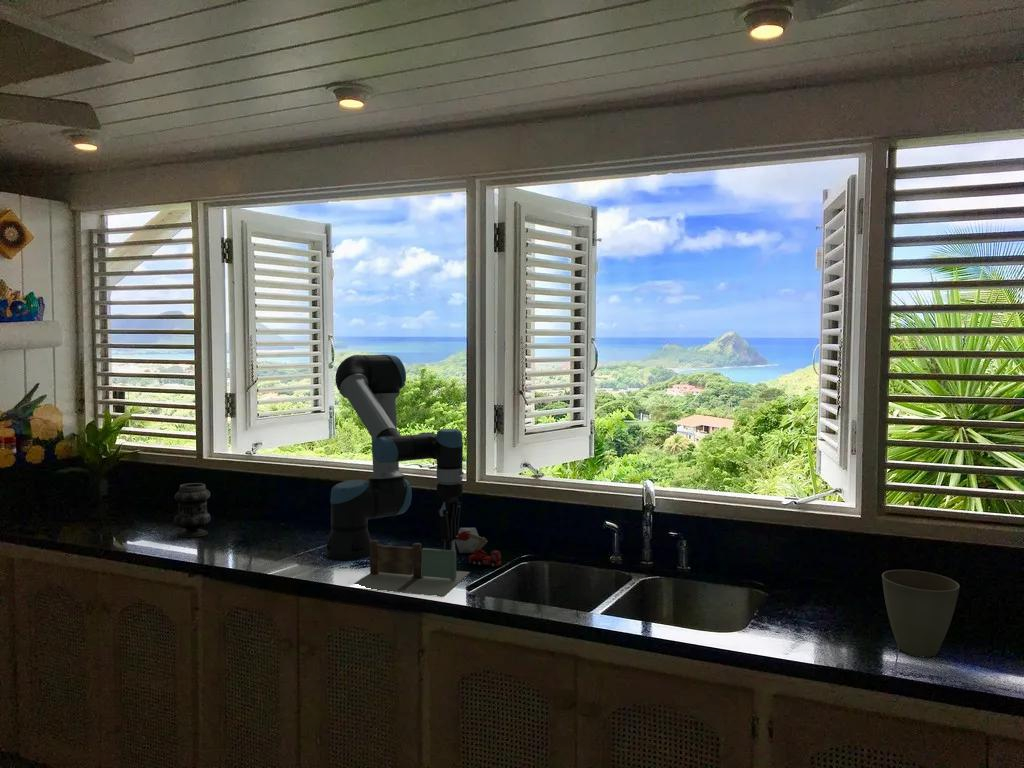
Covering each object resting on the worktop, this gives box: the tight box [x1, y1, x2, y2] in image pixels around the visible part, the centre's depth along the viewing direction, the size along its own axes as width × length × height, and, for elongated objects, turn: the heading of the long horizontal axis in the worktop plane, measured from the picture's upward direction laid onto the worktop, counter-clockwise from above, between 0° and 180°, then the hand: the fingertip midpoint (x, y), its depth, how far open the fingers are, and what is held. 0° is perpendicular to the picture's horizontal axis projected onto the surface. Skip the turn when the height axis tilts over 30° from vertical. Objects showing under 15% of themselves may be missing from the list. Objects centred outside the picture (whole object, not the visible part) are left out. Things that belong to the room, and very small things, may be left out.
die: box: [454, 527, 480, 554], centre depth 241 cm, size 8×9×10 cm
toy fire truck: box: [458, 531, 502, 568], centre depth 227 cm, size 3×14×10 cm, turn 71°
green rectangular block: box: [421, 547, 457, 581], centre depth 210 cm, size 10×2×8 cm, turn 75°
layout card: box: [353, 570, 471, 597], centre depth 210 cm, size 28×22×1 cm
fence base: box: [369, 539, 423, 578], centre depth 214 cm, size 16×2×10 cm, turn 75°
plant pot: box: [881, 569, 961, 658], centre depth 161 cm, size 15×15×16 cm
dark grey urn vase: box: [173, 482, 211, 539], centre depth 262 cm, size 12×12×18 cm
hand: (449, 562), depth 215 cm, fingers closed
